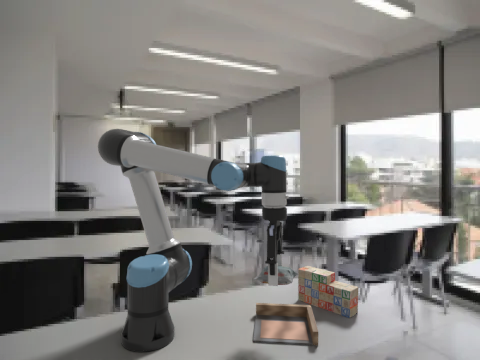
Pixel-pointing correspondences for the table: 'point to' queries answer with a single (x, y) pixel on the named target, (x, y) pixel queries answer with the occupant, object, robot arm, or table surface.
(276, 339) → the corner arena
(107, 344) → the table surface
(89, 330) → the table surface
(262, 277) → the packaged food
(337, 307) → the stack of blocks
